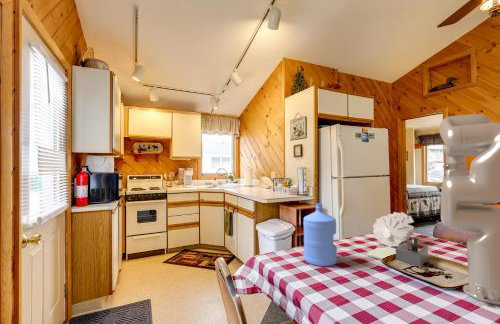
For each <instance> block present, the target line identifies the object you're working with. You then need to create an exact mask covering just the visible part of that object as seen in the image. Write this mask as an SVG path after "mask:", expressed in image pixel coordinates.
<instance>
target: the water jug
mask: <svg viewBox="0 0 500 324" xmlns="http://www.w3.org/2000/svg"><path fill="white" fill-rule="evenodd" d="M336 233H337V220H336V218H335V217H333V216H331V215H329V214H327V213H326V212H324V211H323V203H322V202H321V203H320V202H316V203H315V211H314V212H312V213H310V214H308V215H305V216H304V217H303V246H304V247H303V248H304V249H303V251H304V253H303V258H304V261H305V262H306V263H308V264H310V265H312V266H318V267H331V266H334V265H336V264H337V262H338V256H337V255H338V254H337V252H338V251H337V249H338V248H337V246H336V244H334V235H335V234H336Z"/></svg>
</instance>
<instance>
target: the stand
mask: <svg viewBox="0 0 500 324" xmlns="http://www.w3.org/2000/svg"><path fill="white" fill-rule="evenodd" d="M410 238H411V240H410V241H411V251H414V252H419V244H418V237H413V236H411V237H410Z"/></svg>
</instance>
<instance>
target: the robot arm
mask: <svg viewBox="0 0 500 324" xmlns="http://www.w3.org/2000/svg"><path fill="white" fill-rule="evenodd" d="M439 135H440V138H441V140H442V141H443V143H444V144H443V149H442V150H443V153H444V154H445V165H444V164H443V165H442V167H443V169H445V170H444V173H443V180H442V182H441V183H438V184H436V185H435V187H436V190H438V192H439V193H440V195H441V197H440V198H441V199H440V220H441V224H442V225H443V227H445V228H446V229H450V230H455V231H456V230H457V231H467V232H474V233H473V234H472V235H470V236H469V238H468V239H467V241H466V252H467V253H466V255H467V276H468V284H465V285H463V287H462V290H463V292H464V293H465V294H467V295H468V296H469V297H471V298H473V299H475V300H477V301H481V302H483V303H487V304H492V305H495V306H500V207H498V206H496V205H495V206H494V204H499V203H500V122H492V120H491V119H490V117H488V116H487V115H485V114H480V113H471V114H470V113H469V114H463V115H462V114H461V115H450V116H446V117H445V118H443V119H442V121H441V122H440V124H439ZM467 157H474V159H473V160H472V161H471V162H470V165H469V167H470V168H469V169H468V168H467ZM467 169H468V170H467Z"/></svg>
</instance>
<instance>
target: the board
mask: <svg viewBox="0 0 500 324" xmlns="http://www.w3.org/2000/svg"><path fill="white" fill-rule="evenodd" d="M393 254H396V250H393V249H389V248H384V247H380V246H379V247H378V246H377V247H376V248H375V249H373V250H371V251H369V252H368V253H366V257H371V258H375V259H378V260H382V259H383V258H385V257H387V256H390V255H393Z"/></svg>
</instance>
